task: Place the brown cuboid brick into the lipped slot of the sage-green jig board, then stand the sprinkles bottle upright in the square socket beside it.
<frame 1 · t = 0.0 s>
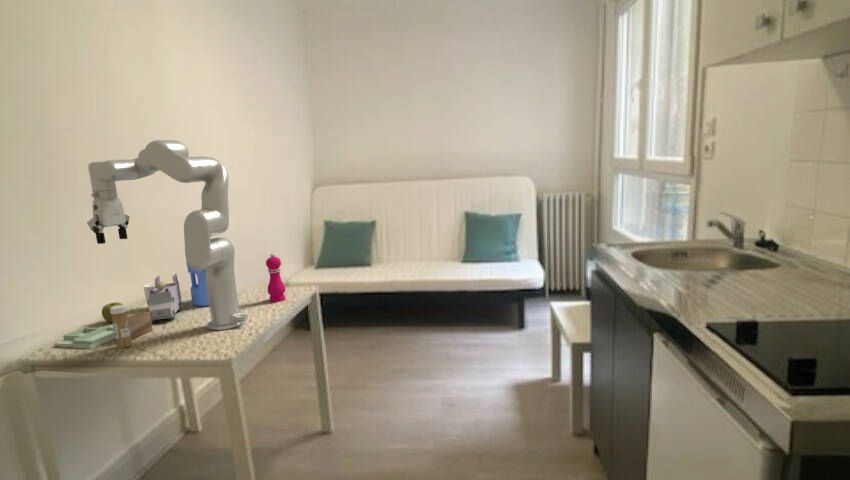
hand: (112, 241, 187), 31 cm above the table, tool pointing down, fingers open, 9 cm apart
apple: (115, 322, 192), on the table
pepper mill: (277, 300, 209), on the table
sprinkles bottle: (124, 346, 164), on the table
white cup: (157, 308, 209), on the table
jig: (92, 339, 173), on the table
toy vehicle: (167, 316, 196), on the table
brown cuboid brick: (136, 336, 174), on the table
water jug: (212, 302, 213), on the table
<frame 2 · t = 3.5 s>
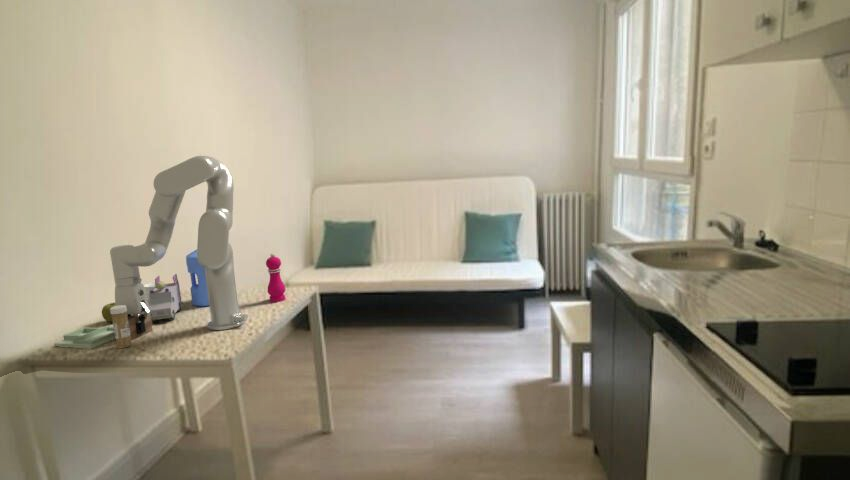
hand: (136, 332, 174), 1 cm above the table, tool pointing down, fingers closed on brown cuboid brick, 4 cm apart
brown cuboid brick: (136, 335, 174), on the table, touching gripper
everything else where it was.
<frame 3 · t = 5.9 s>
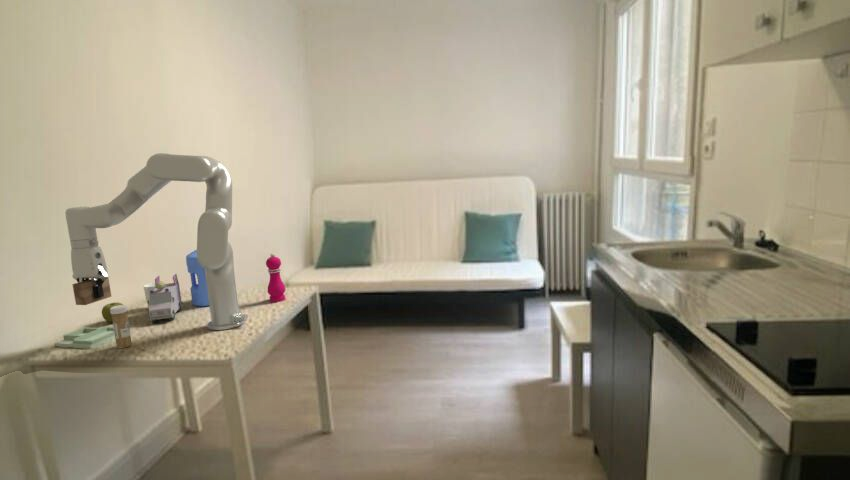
hand: (93, 296, 169), 15 cm above the table, tool pointing down, fingers closed on brown cuboid brick, 4 cm apart
brown cuboid brick: (94, 300, 170), point 14 cm above the table, touching gripper
everything else where it was.
when the fingers open (4 cm above the table, at t = 8.2 s): brown cuboid brick drops 1 cm, resting on jig.
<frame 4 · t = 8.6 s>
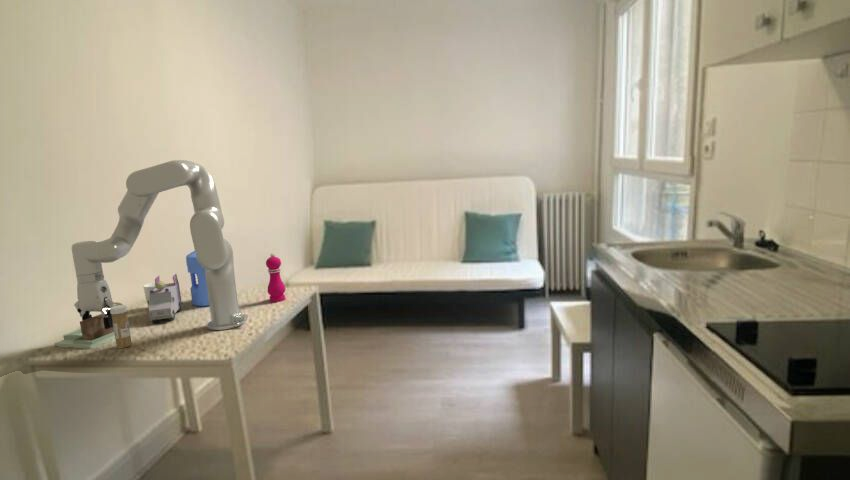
hand: (99, 327, 171), 5 cm above the table, tool pointing down, fingers open, 8 cm apart
brown cuboid brick: (101, 336, 172), point 1 cm above the table, touching jig
everything else where it was.
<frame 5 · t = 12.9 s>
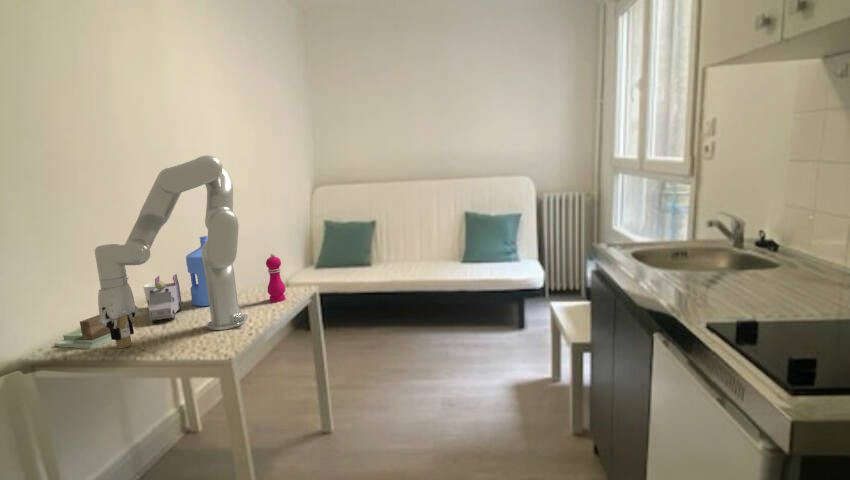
hand: (122, 336, 164), 3 cm above the table, tool pointing down, fingers closed on sprinkles bottle, 4 cm apart
sprinkles bottle: (124, 346, 164), on the table, touching gripper
everything else where it was.
when the fingers open (6 cm above the table, at t = 18.2 s): sprinkles bottle drops 1 cm, resting on jig.
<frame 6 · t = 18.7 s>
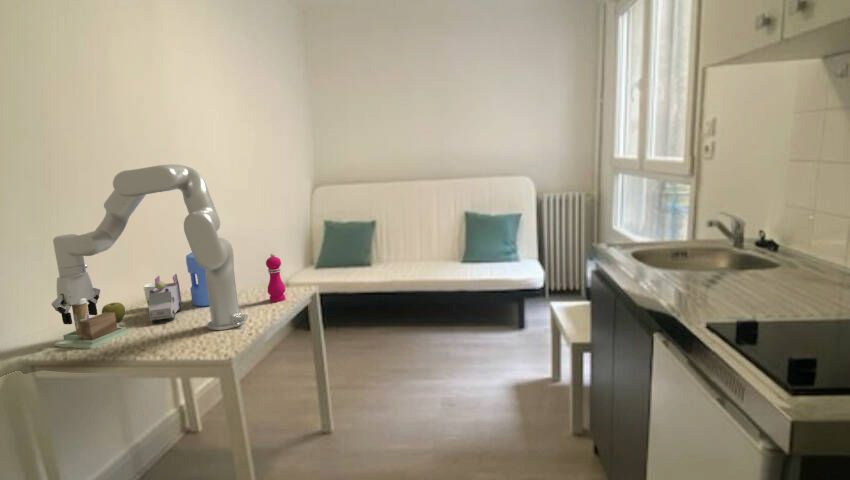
hand: (81, 319, 173), 7 cm above the table, tool pointing down, fingers open, 9 cm apart
sprinkles bottle: (84, 336, 174), point 1 cm above the table, touching jig
everything else where it was.
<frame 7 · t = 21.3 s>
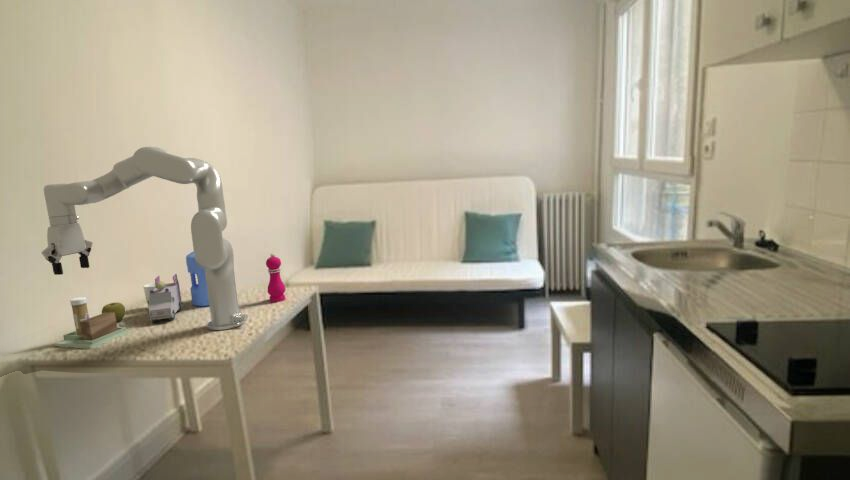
hand: (72, 270, 170), 24 cm above the table, tool pointing down, fingers open, 9 cm apart
nothing on the table moved.
at the end: brown cuboid brick 0.1 cm from the target spot on the jig, point 1.2 cm above the jig's base; sprinkles bottle 0.2 cm from the target spot on the jig, point 1.0 cm above the jig's base; sprinkles bottle tilted 0° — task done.
